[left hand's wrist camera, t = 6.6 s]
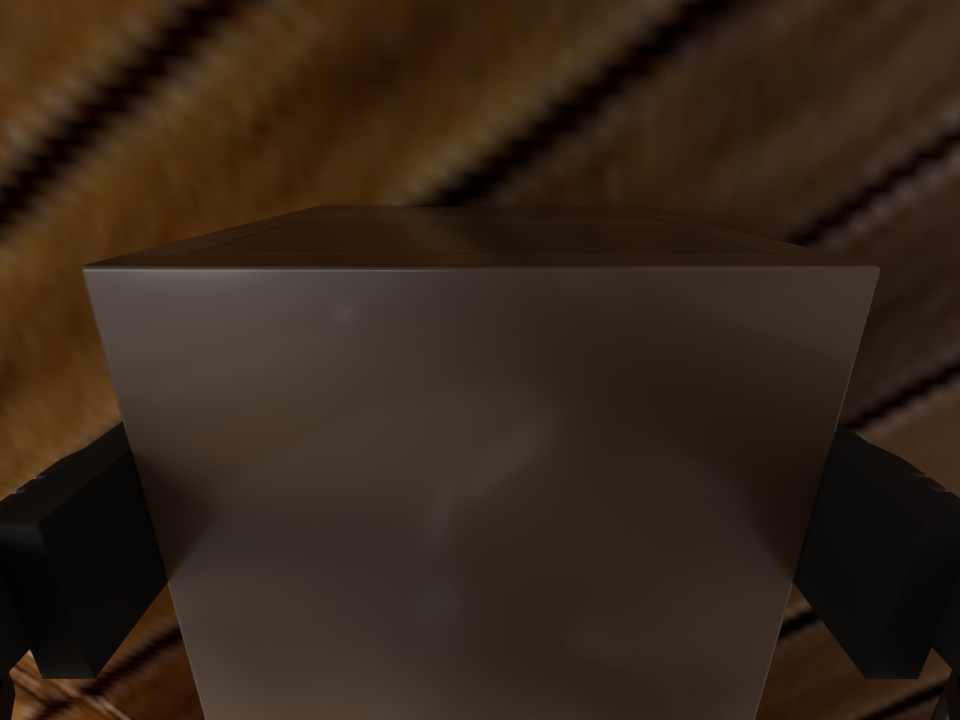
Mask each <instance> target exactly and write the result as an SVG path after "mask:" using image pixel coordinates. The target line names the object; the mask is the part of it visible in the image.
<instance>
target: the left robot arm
mask: <svg viewBox="0 0 960 720" xmlns="http://www.w3.org/2000/svg"><path fill="white" fill-rule="evenodd" d="M16 491H17V492H16V494H10V495H9V496H7V497H6V498H5V499H3V500H2V501H0V720H11V716H12V711H13V705H14V700H15V689H14V683H13V681H12V679H11V676H10V674H9V671H10V670H11V669H12V668H13V667H14V666H15V664H16V663H17V662H18V661H19V660H20V659H21V658H22V657H23V656H24V655H25V654H26V653H27V652H28V651H29V649H30V650H31V652H32V654H33V657H34V659H35V662H36V664H37V666H38V669H39V671H40V673H41V676H42V678H43V679H95V678H96V677H97V675H98V674H99V673H100V671H101V670H102V669H103V667H104V666H105V665H106V663H107V662H108V661H109V659H110V658H111V657H112V655H113V654H114V653H115V651H116V650H117V649H118V647H119V646H120V645H121V643H122V642H123V641H124V639H125V638H126V637H127V635H128V634H129V633H130V631H131V630H132V629H133V627H134V626H135V625H136V623H137V622H138V621H139V619H140V618H141V617H142V615H143V614H144V613H145V611H146V610H147V609H148V607H149V606H150V605H151V603H152V602H153V601H154V599H155V598H156V597H157V595H158V594H159V593H160V591H161V590H162V589H163V587H164V586H165V585H166V583H167V579H166V575H165V572H164V568H163V565H162V561H161V557H160V554H159V550H158V546H157V543H156V539H155V536H154V532H153V528H152V525H151V521H150V518H149V514H148V510H147V507H146V503H145V500H144V496H143V492H142V489H141V485H140V482H139V478H138V474H137V471H136V467H135V463H134V460H133V456H132V453H131V449H130V445H129V442H128V438H127V435H126V431H125V427H124V424H123V421H122V422H121V423H119V424H118V425H117V426H115V427H114V428H112V429H111V430H110V431H108V432H107V433H105V434H104V435H103V436H101V437H100V438H98V439H97V440H96V441H94V442H93V443H91V444H90V445H89V446H87V447H86V448H84V449H82V450H80V451H77V452H75V453H73V454H71V455H69V456H67V457H64V458H62V459H60V460H59V461H58V462H56V463H55V464H53V465H52V466H50V467H49V468H48V469H46V470H45V471H43V472H42V473H40V474H39V475H37V479H32V480H30V481H29V482H27V483H26V484H25V485H23V486H22V487H20V488H19V489H17V490H16ZM793 583H794V584H795V585H796V587H797V588H798V589H799V591H800V592H801V593H802V595H803V596H804V597H805V599H806V600H807V601H808V603H809V604H810V605H811V607H812V608H813V609H814V611H815V612H816V613H817V615H818V616H819V617H820V619H821V620H822V621H823V623H824V624H825V625H826V627H827V628H828V629H829V631H830V632H831V633H832V635H833V636H834V637H835V639H836V640H837V641H838V643H839V644H840V645H841V647H842V648H843V649H844V651H845V652H846V653H847V655H848V656H849V657H850V659H851V660H852V661H853V663H854V664H855V665H856V667H857V668H858V669H859V671H860V672H861V673H862V675H863V676H864V677H865V679H918V678H919V675H920V673H921V671H922V668H923V666H924V663H925V661H926V659H927V656H928V654H929V652H930V649H931V647H932V648H933V649H934V650H935V651H936V652H937V653H938V654H939V655H940V656H941V657H942V659H943V660H944V661H945V662H946V663H947V664H948V665H949V666H950V667H951V668H952V669H953V670H952V672H951V674H950V676H949V679H948V681H947V683H946V685H945V687H944V690H943V692H942V694H941V696H940V698H939V701H938V703H937V705H936V707H935V710H934V712H933V714H932V716H931V718H930V720H960V498H959V497H957V496H956V495H954V494H953V493H951V492H946V491H945V488H944V487H943V486H941V485H940V484H938V483H937V482H935V481H934V480H933V479H931V478H930V477H925V474H924V473H922V472H921V471H920V470H918V469H917V468H915V467H914V466H912V465H911V464H909V463H908V462H907V461H905V460H904V459H902V458H901V457H899V456H897V455H894V454H892V453H890V452H888V451H886V450H883V449H881V448H879V447H877V446H875V445H872V444H870V443H868V442H866V441H865V440H864V439H862V438H861V437H859V436H858V435H857V434H855V433H854V432H852V431H851V430H850V429H848V428H847V427H845V426H844V425H843V424H841V423H840V422H838V425H837V428H836V432H835V435H834V439H833V443H832V446H831V450H830V453H829V457H828V461H827V464H826V468H825V471H824V475H823V478H822V482H821V486H820V489H819V493H818V496H817V500H816V504H815V507H814V511H813V514H812V518H811V521H810V525H809V529H808V532H807V536H806V539H805V543H804V547H803V550H802V554H801V557H800V561H799V564H798V568H797V572H796V575H795V579H794V582H793Z"/></svg>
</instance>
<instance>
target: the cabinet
mask: <svg viewBox="0 0 960 720" xmlns="http://www.w3.org/2000/svg"><path fill="white" fill-rule="evenodd" d="M81 272H82V276H83V279H84V283H85V287H86V290H87V294H88V297H89V301H90V305H91V308H92V312H93V315H94V319H95V323H96V326H97V330H98V334H99V337H100V341H101V344H102V348H103V352H104V355H105V359H106V362H107V366H108V370H109V373H110V377H111V380H112V384H113V388H114V391H115V395H116V398H117V402H118V406H119V409H120V413H121V417H122V420H123V424H124V427H125V431H126V435H127V438H128V442H129V445H130V449H131V453H132V456H133V460H134V463H135V467H136V471H137V474H138V478H139V482H140V485H141V489H142V492H143V496H144V500H145V503H146V507H147V510H148V514H149V518H150V521H151V525H152V528H153V532H154V536H155V539H156V543H157V546H158V550H159V554H160V557H161V561H162V565H163V568H164V572H165V575H166V579H167V583H168V586H169V590H170V593H171V597H172V601H173V604H174V608H175V611H176V615H177V619H178V622H179V626H180V629H181V633H182V637H183V640H184V644H185V648H186V651H187V655H188V658H189V662H190V666H191V669H192V673H193V676H194V680H195V684H196V687H197V691H198V694H199V698H200V702H201V705H202V709H203V712H204V716H205V720H755V719H756V715H757V711H758V708H759V704H760V701H761V697H762V694H763V690H764V686H765V683H766V679H767V676H768V672H769V668H770V665H771V661H772V658H773V654H774V651H775V647H776V643H777V640H778V636H779V633H780V629H781V625H782V622H783V618H784V615H785V611H786V608H787V604H788V600H789V597H790V593H791V590H792V586H793V582H794V579H795V575H796V572H797V568H798V564H799V561H800V557H801V554H802V550H803V547H804V543H805V539H806V536H807V532H808V529H809V525H810V521H811V518H812V514H813V511H814V507H815V504H816V500H817V496H818V493H819V489H820V486H821V482H822V478H823V475H824V471H825V468H826V464H827V461H828V457H829V453H830V450H831V446H832V443H833V439H834V435H835V432H836V428H837V425H838V421H839V418H840V414H841V410H842V407H843V403H844V400H845V396H846V392H847V389H848V385H849V382H850V378H851V374H852V371H853V367H854V364H855V360H856V357H857V353H858V349H859V346H860V342H861V339H862V335H863V331H864V328H865V324H866V321H867V317H868V314H869V310H870V306H871V303H872V299H873V296H874V292H875V288H876V285H877V281H878V278H879V274H880V268H879V267H878V266H876V265H873V264H869V263H865V262H861V261H857V260H853V259H849V258H845V257H841V256H837V255H832V254H830V253H826V252H822V251H818V250H814V249H810V248H806V247H802V246H798V245H794V244H790V243H787V242H783V241H779V240H775V239H771V238H767V237H763V236H759V235H755V234H751V233H747V232H743V231H739V230H735V229H731V228H727V227H723V226H720V225H716V224H712V223H708V222H704V221H700V220H696V219H692V218H688V217H684V216H680V215H676V214H672V213H668V212H664V211H660V210H657V209H652V208H649V207H645V206H316V207H312V208H308V209H304V210H300V211H296V212H292V213H288V214H284V215H280V216H276V217H272V218H268V219H264V220H260V221H256V222H252V223H248V224H244V225H240V226H236V227H233V228H229V229H225V230H221V231H217V232H213V233H209V234H205V235H201V236H197V237H193V238H189V239H185V240H181V241H177V242H173V243H169V244H165V245H161V246H157V247H153V248H149V249H145V250H141V251H137V252H133V253H130V254H129V255H122V256H118V257H114V258H110V259H106V260H102V261H98V262H95V263H91V264H87V265H84V266H83V267H82V268H81Z"/></svg>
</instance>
